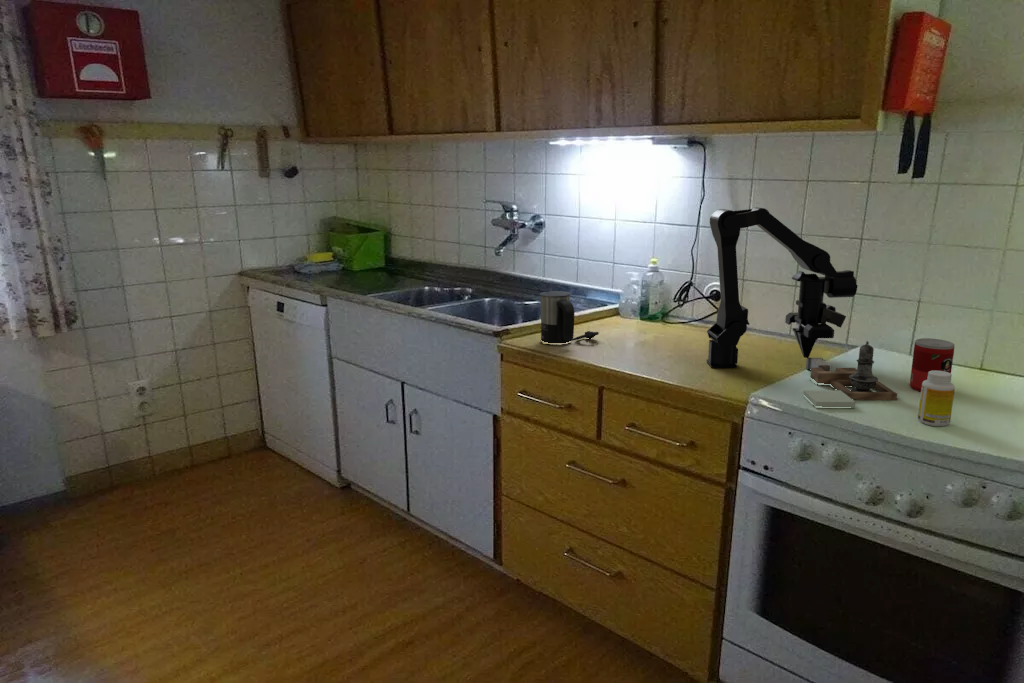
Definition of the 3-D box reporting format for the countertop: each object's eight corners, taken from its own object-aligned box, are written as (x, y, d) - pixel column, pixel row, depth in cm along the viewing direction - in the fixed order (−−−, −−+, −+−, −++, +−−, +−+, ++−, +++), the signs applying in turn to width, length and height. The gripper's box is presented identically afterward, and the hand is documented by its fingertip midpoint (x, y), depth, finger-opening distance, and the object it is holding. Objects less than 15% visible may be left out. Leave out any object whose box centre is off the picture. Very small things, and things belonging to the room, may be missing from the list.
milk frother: (533, 342, 210) (532, 293, 207) (570, 333, 220) (570, 286, 217) (568, 351, 200) (568, 299, 196) (604, 341, 210) (605, 292, 206)
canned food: (929, 396, 157) (936, 347, 154) (901, 385, 164) (906, 339, 161) (957, 392, 159) (963, 344, 156) (927, 382, 166) (933, 336, 163)
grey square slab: (815, 408, 150) (816, 401, 149) (802, 396, 157) (803, 390, 157) (854, 408, 149) (855, 401, 149) (839, 396, 157) (840, 390, 156)
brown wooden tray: (834, 399, 155) (835, 386, 154) (810, 379, 170) (811, 367, 169) (896, 400, 154) (898, 387, 153) (866, 379, 169) (868, 367, 168)
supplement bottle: (956, 427, 138) (963, 376, 136) (928, 428, 138) (935, 377, 135) (937, 417, 143) (944, 368, 141) (911, 418, 143) (917, 369, 141)
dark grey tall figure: (870, 389, 162) (876, 338, 159) (880, 397, 156) (886, 344, 153) (843, 388, 163) (848, 337, 160) (853, 396, 157) (858, 344, 154)
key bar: (815, 376, 172) (816, 365, 171) (805, 368, 179) (806, 357, 178) (830, 376, 172) (832, 365, 171) (820, 368, 178) (821, 357, 178)
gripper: (859, 304, 170) (852, 367, 174) (829, 291, 188) (824, 348, 192) (811, 305, 171) (806, 367, 175) (786, 291, 189) (782, 348, 193)
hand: (805, 357), depth 184 cm, fingers closed
